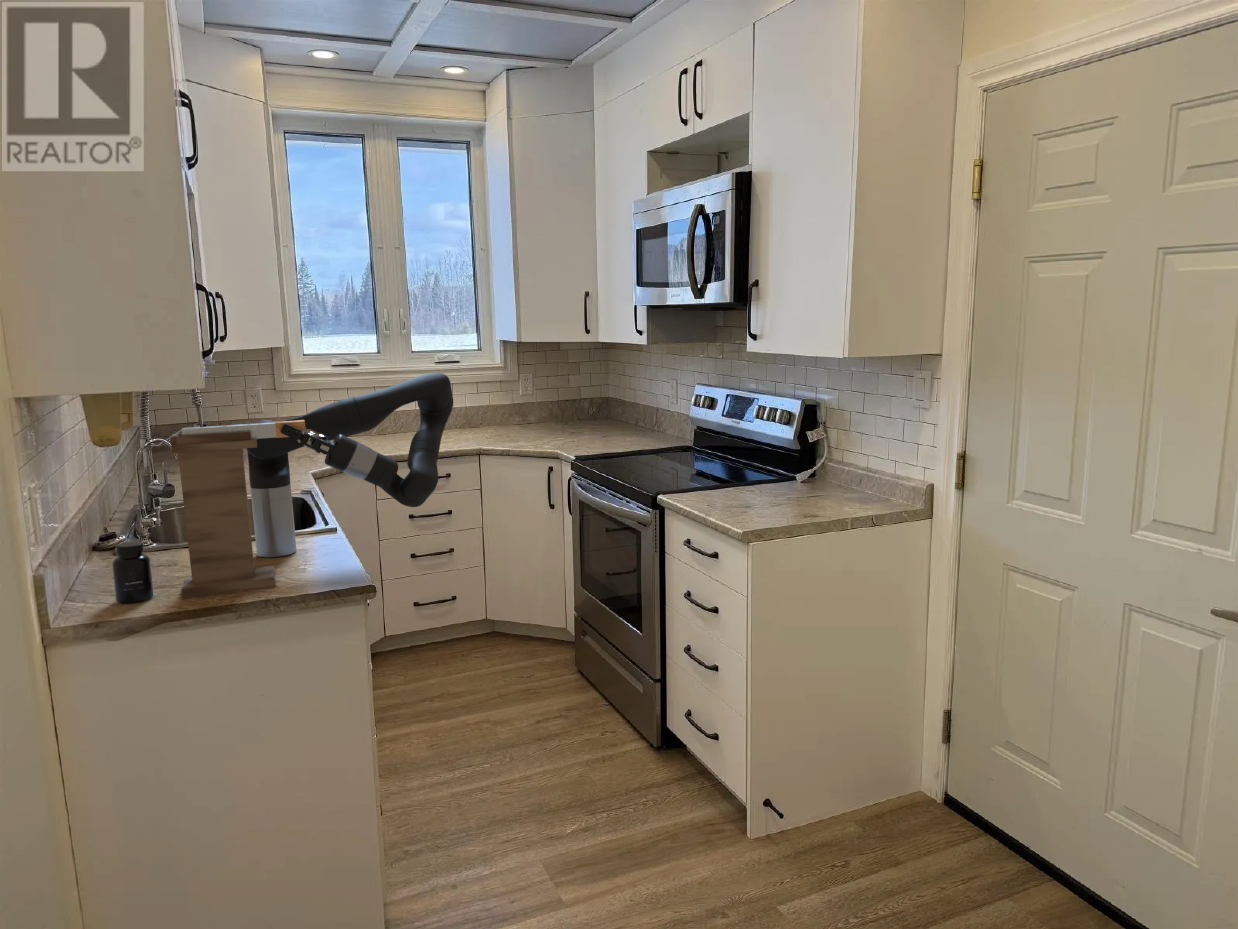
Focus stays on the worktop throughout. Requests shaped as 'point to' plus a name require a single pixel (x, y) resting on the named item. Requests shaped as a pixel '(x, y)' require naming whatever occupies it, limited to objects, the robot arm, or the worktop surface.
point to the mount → (217, 514)
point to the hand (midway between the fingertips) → (281, 425)
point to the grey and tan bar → (249, 429)
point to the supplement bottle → (132, 574)
